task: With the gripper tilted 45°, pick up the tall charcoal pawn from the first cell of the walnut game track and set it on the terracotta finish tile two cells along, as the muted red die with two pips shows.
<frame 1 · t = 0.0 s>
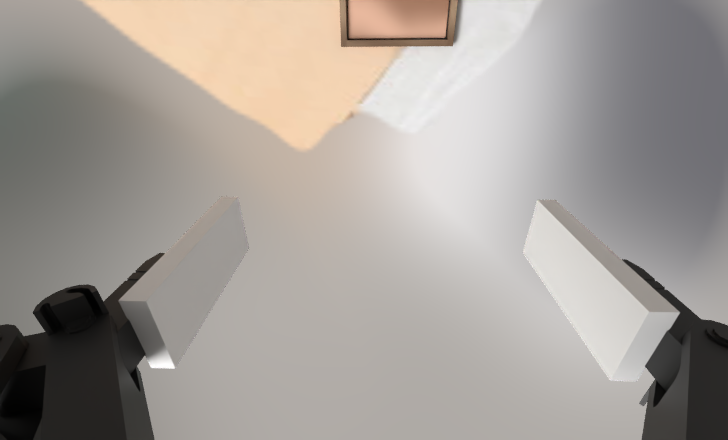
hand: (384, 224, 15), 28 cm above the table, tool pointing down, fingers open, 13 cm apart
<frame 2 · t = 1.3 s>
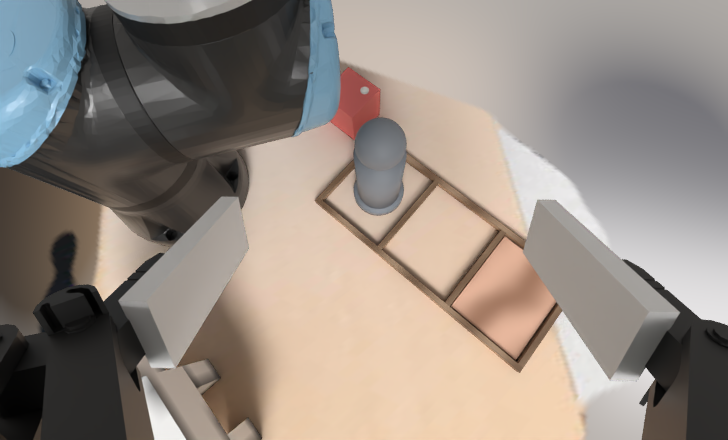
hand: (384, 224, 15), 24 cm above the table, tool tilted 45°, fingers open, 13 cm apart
red die: (352, 116, 43), on the table
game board: (440, 241, 38), on the table
toy llama: (199, 413, 34), on the table
pawn: (378, 192, 40), resting on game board
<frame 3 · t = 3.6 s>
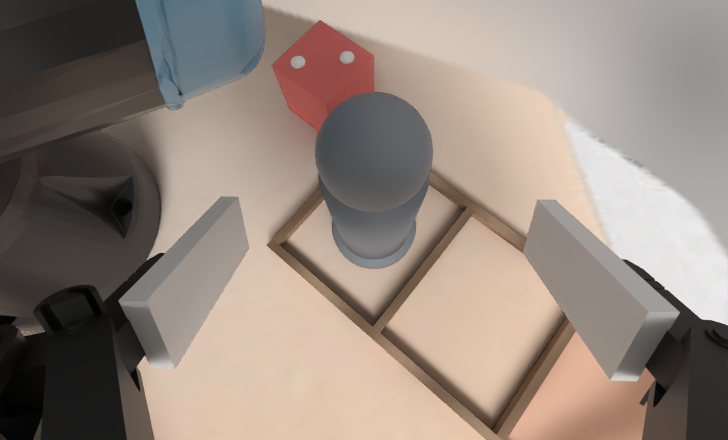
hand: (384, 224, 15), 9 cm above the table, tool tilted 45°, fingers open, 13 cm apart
red die: (331, 104, 27), on the table
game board: (480, 313, 22), on the table
pawn: (373, 228, 24), resting on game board
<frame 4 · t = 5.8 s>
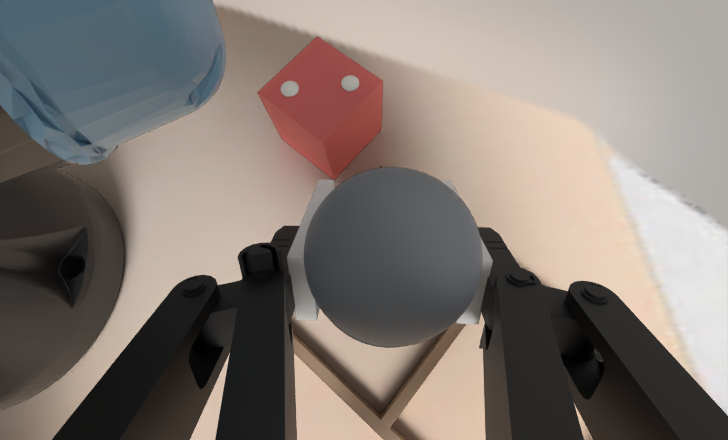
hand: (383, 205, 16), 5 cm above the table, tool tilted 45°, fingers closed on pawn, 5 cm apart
red die: (331, 134, 23), on the table
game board: (513, 400, 18), on the table
pawn: (381, 287, 20), resting on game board, touching gripper
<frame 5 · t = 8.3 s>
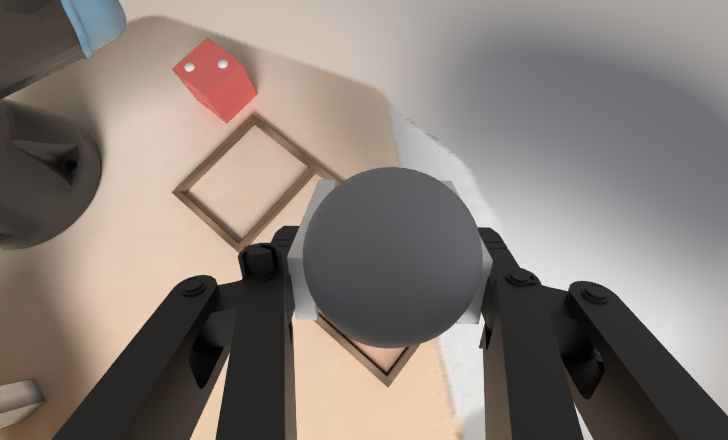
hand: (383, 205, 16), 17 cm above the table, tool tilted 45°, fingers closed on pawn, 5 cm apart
red die: (227, 96, 38), on the table
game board: (313, 236, 33), on the table
pawn: (381, 288, 20), point 12 cm above the table, touching gripper
when the fingers open (6 cm above the table, at t = 11.0 s): pawn drops 1 cm, resting on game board.
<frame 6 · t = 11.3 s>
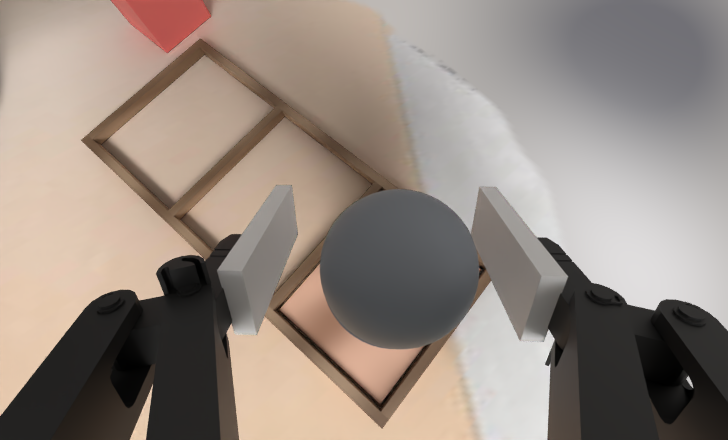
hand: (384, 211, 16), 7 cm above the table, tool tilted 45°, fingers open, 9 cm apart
red die: (170, 19, 28), on the table
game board: (278, 202, 23), on the table
pawn: (381, 290, 21), resting on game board
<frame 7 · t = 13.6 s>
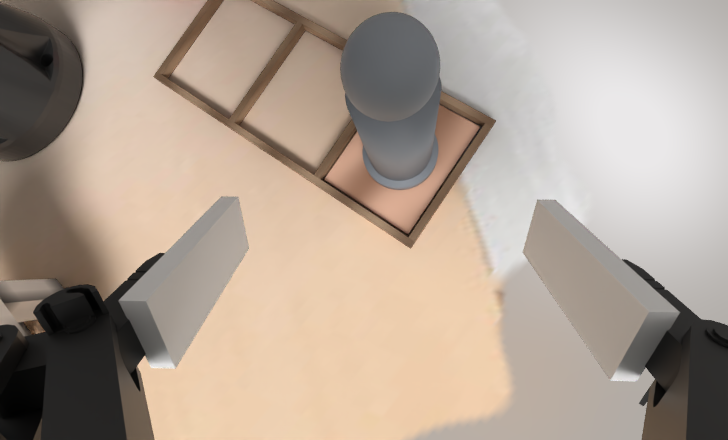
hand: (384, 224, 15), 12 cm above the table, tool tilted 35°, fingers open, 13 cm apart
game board: (310, 101, 29), on the table
toy llama: (53, 337, 30), on the table
pawn: (400, 154, 27), resting on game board
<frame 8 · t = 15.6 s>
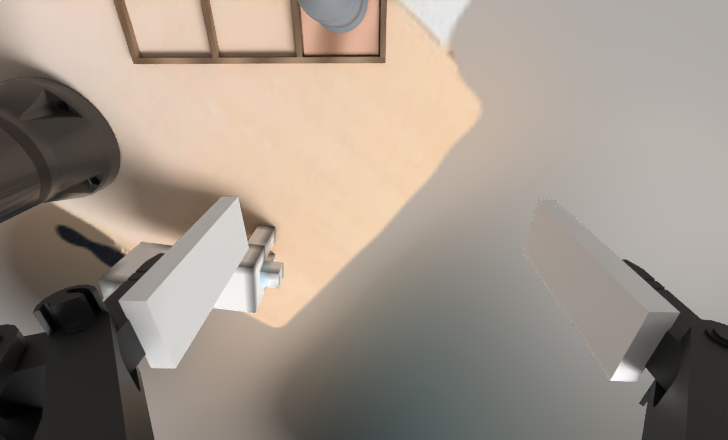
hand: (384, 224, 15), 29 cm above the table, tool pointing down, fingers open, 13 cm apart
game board: (251, 0, 35), on the table
toy llama: (235, 242, 50), on the table
pawn: (339, 0, 34), resting on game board
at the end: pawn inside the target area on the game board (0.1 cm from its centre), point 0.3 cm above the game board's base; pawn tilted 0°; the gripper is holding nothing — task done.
